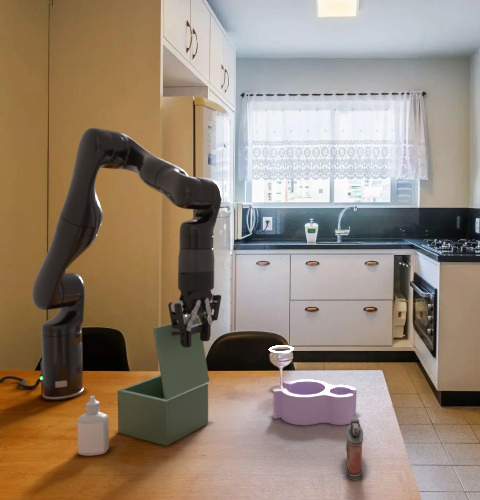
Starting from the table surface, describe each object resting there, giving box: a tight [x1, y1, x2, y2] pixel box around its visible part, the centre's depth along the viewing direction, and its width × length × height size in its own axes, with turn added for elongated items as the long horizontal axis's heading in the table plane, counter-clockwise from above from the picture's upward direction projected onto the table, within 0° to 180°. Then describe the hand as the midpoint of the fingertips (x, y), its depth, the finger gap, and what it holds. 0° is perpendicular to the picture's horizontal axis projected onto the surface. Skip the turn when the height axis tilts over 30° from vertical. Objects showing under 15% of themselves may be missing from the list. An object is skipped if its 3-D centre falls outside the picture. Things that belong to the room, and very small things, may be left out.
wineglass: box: [268, 345, 294, 392], centre depth 141 cm, size 7×7×12 cm
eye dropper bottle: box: [76, 395, 110, 457], centre depth 102 cm, size 4×6×12 cm
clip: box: [272, 379, 357, 426], centre depth 124 cm, size 20×12×7 cm, turn 81°
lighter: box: [345, 416, 364, 481], centre depth 98 cm, size 8×3×10 cm, turn 5°
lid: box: [152, 316, 210, 400], centre depth 110 cm, size 16×13×5 cm
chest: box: [117, 374, 209, 447], centre depth 114 cm, size 15×13×10 cm
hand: (195, 343), depth 109 cm, fingers closed on lid, 5 cm apart
